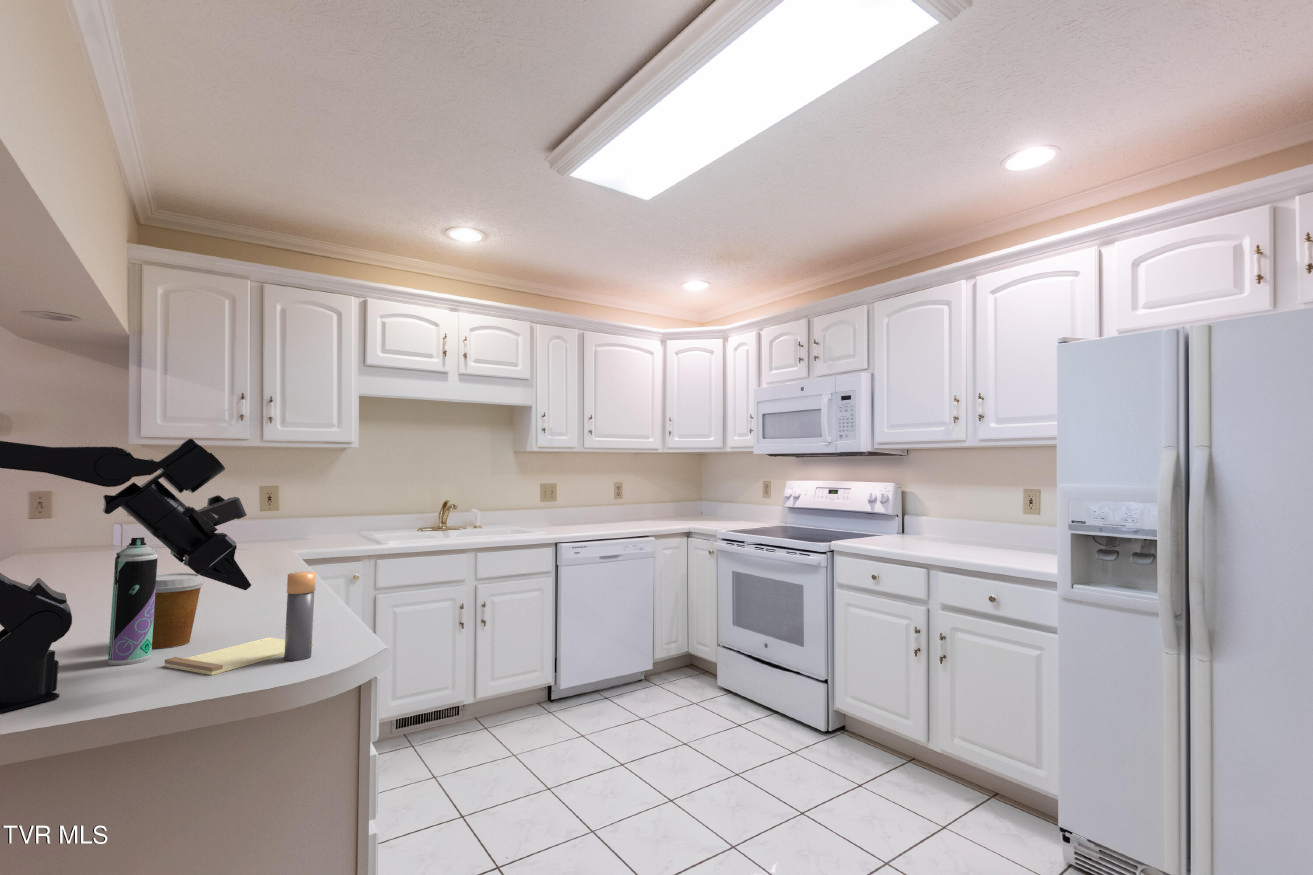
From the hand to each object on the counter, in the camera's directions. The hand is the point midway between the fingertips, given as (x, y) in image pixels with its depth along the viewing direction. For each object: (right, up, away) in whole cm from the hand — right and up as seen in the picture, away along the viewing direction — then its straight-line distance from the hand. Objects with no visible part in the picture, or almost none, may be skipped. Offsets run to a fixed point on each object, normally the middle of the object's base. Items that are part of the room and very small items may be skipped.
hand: (242, 583), depth 103 cm
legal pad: (-3, -13, +5) cm, 15 cm away
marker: (+6, -13, +5) cm, 16 cm away
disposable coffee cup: (-21, -14, +12) cm, 28 cm away
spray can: (-19, -13, +1) cm, 23 cm away
